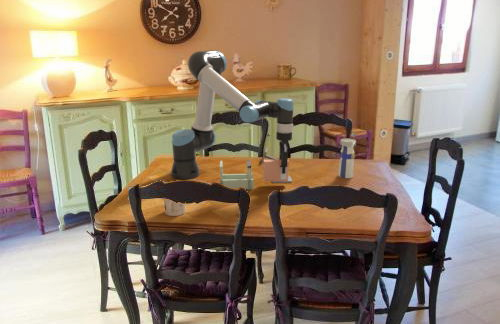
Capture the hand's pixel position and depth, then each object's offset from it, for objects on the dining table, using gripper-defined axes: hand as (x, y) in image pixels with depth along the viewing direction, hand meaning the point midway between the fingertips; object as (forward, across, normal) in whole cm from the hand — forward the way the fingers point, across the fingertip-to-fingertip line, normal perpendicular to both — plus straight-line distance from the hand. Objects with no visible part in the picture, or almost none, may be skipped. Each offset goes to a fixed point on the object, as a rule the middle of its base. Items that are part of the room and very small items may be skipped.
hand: (282, 177), depth 203 cm
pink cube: (+1, 0, +4) cm, 4 cm away
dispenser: (+4, 0, +22) cm, 23 cm away
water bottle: (+4, +12, -36) cm, 38 cm away
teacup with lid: (+5, -30, +50) cm, 58 cm away
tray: (+4, +8, 0) cm, 9 cm away
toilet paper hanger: (+5, +33, +3) cm, 34 cm away
